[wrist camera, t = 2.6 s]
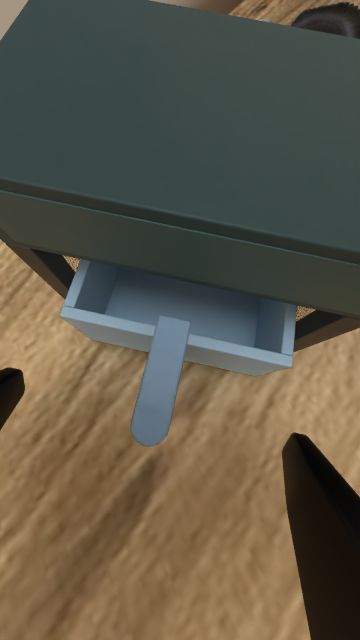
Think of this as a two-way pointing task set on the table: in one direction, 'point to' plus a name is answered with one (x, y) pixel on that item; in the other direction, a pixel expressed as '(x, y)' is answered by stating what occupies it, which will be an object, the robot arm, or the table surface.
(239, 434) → the table surface
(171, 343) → the drawer
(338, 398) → the table surface
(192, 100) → the cabinet
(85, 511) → the table surface
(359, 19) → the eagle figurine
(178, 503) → the table surface
